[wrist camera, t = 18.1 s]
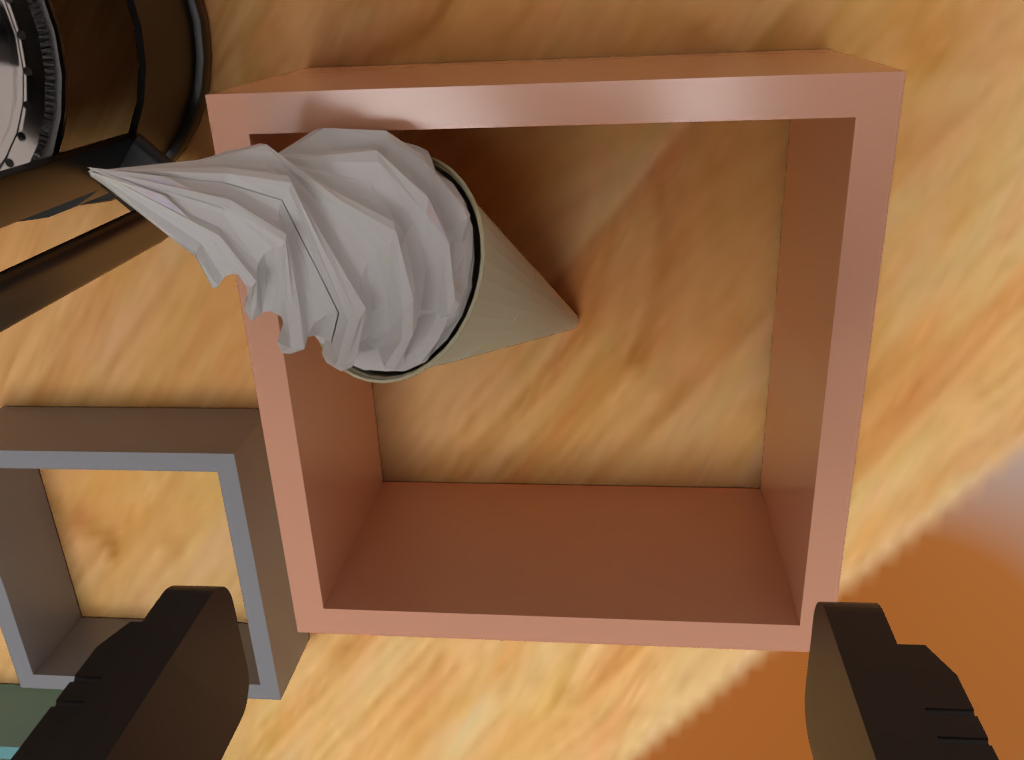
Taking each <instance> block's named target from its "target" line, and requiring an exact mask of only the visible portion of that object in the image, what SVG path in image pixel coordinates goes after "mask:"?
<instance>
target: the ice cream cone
mask: <svg viewBox="0 0 1024 760" xmlns="http://www.w3.org/2000/svg"><path fill="white" fill-rule="evenodd" d="M88 168H89V169H91V170H90V171H88V172H89V173H90V175H91V177H92V178H94V179H95V180H97V181H98V182H100V183H101V184H103V185H104V186H106V187H107V188H108V189H110V190H111V191H112V192H113V193H115V194H116V195H117V196H118V197H120V198H121V199H122V200H124V201H125V202H126V203H127V204H129V205H130V206H131V207H132V208H134V209H135V210H136V211H138V212H139V213H140V214H141V215H143V216H144V217H145V218H146V219H148V220H149V221H150V222H152V223H153V224H154V225H155V226H157V227H158V228H159V229H160V230H162V231H163V232H164V233H166V234H167V235H168V236H169V237H171V238H172V239H173V240H174V241H176V242H177V243H178V244H180V245H181V246H182V247H184V248H185V249H186V250H187V251H189V252H190V253H191V254H193V255H194V254H195V256H196V258H197V260H198V262H199V264H200V265H201V267H202V269H203V271H204V273H205V275H206V277H207V278H208V280H209V282H210V284H211V286H212V288H216V287H218V286H219V284H220V283H221V281H222V280H223V278H225V277H226V276H228V275H231V274H237V275H239V277H240V278H241V280H242V281H243V282H244V284H245V285H246V288H247V297H246V302H245V307H244V310H245V312H246V313H247V315H248V316H249V318H250V320H251V321H253V320H254V319H255V318H257V317H258V316H259V315H260V314H261V313H264V312H268V311H271V312H273V313H275V314H277V315H279V316H281V317H282V321H283V325H282V328H281V331H280V335H279V338H278V341H277V343H278V345H279V348H280V350H281V352H282V353H287V354H291V353H294V352H297V351H300V350H303V349H305V345H306V341H307V337H310V336H315V337H316V338H317V339H318V341H319V343H320V345H321V347H322V348H323V350H322V355H323V357H324V359H325V361H326V363H328V364H330V365H331V366H333V367H335V368H336V369H338V370H340V371H341V372H342V371H345V372H346V373H348V374H350V375H351V376H353V377H355V378H358V379H361V380H364V381H367V382H374V383H390V382H397V381H402V380H404V379H407V378H410V377H412V376H415V375H417V374H419V373H421V372H422V371H424V370H426V369H427V368H429V367H433V366H437V365H442V364H447V363H450V362H454V361H458V360H461V359H465V358H469V357H472V356H476V355H480V354H484V353H487V352H491V351H495V350H498V349H502V348H506V347H509V346H513V345H517V344H520V343H524V342H528V341H531V340H535V339H539V338H542V337H546V336H550V335H554V334H557V333H561V332H565V331H568V330H572V329H574V328H576V327H577V325H578V322H579V319H578V316H577V315H576V314H575V313H574V311H573V310H572V309H571V308H570V307H569V306H568V305H567V304H566V302H565V301H564V300H563V299H562V298H561V297H560V296H559V295H558V293H557V292H556V291H555V290H554V289H553V288H552V287H551V286H550V284H549V283H548V282H547V281H546V280H545V279H544V278H543V277H542V275H541V274H540V273H539V272H538V271H537V270H536V269H535V268H534V267H533V266H532V265H531V263H529V262H528V261H527V260H526V258H525V257H524V256H523V255H522V254H521V253H520V252H519V251H518V249H517V248H516V247H515V246H514V245H513V244H512V243H511V242H510V241H509V239H508V238H507V237H506V236H505V235H504V234H503V233H502V232H501V230H500V229H499V228H498V227H497V226H496V225H495V224H494V223H493V221H492V220H491V219H490V218H489V217H488V216H487V215H486V214H485V213H484V211H483V210H482V209H481V208H480V207H479V206H478V205H477V204H476V201H475V199H474V197H473V195H472V193H471V192H470V190H469V188H468V187H467V185H466V183H465V182H464V181H463V180H462V179H461V177H460V176H459V175H458V174H457V173H456V172H455V171H454V170H453V169H452V168H451V167H449V166H448V165H446V164H445V163H443V162H442V161H441V160H439V159H437V158H434V157H431V156H430V154H429V152H428V151H427V150H425V149H423V148H421V147H419V146H417V145H413V144H409V143H405V142H402V141H401V140H399V139H398V138H396V137H395V136H393V135H392V134H390V133H389V132H387V131H382V130H361V129H339V128H321V129H316V130H314V131H312V132H310V133H309V134H307V135H306V136H304V137H303V138H301V139H299V140H298V141H296V142H295V143H293V144H292V145H290V146H288V147H287V148H285V149H284V150H282V151H281V152H279V153H277V152H276V151H275V150H273V149H272V148H271V147H269V146H268V145H267V144H261V143H260V144H256V145H252V146H248V147H244V148H241V149H237V150H226V151H224V152H222V153H220V154H218V155H214V156H210V157H206V158H202V159H199V160H192V161H182V162H172V163H163V164H153V165H144V166H134V167H124V168H115V169H99V168H91V167H88Z"/></svg>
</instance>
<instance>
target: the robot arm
mask: <svg viewBox="0 0 1024 760" xmlns="http://www.w3.org/2000/svg"><path fill="white" fill-rule="evenodd" d="M74 677H75V678H74V681H73V682H69V684H68V685H67V686H66V688H65V689H64V690H63V691H62V693H61V694H60V695H59V697H58V698H57V699H56V705H55V707H53V706H51V707H50V708H49V710H48V711H47V712H46V714H45V715H44V716H43V718H42V719H41V720H40V722H39V723H38V724H37V725H36V727H35V728H34V729H33V731H32V732H31V733H30V735H29V736H28V737H27V739H26V740H25V741H24V742H23V744H22V745H21V746H20V748H19V749H18V750H17V752H16V753H15V754H14V756H13V757H12V758H11V759H10V760H221V759H222V757H223V755H224V753H225V751H226V749H227V747H228V745H229V743H230V741H231V739H232V737H233V735H234V733H235V731H236V729H237V727H238V725H239V723H240V721H241V718H242V716H243V714H244V711H245V707H246V704H247V699H248V692H249V672H248V666H247V662H246V658H245V653H244V649H243V644H242V640H241V635H240V631H239V626H238V622H237V617H236V613H235V608H234V604H233V600H232V596H231V594H230V592H229V591H228V589H227V588H225V587H217V586H171V587H169V588H167V589H166V590H165V591H164V592H163V594H162V595H161V596H160V598H159V599H158V601H157V602H156V603H155V605H154V606H153V607H152V609H151V610H150V612H149V613H148V614H147V616H146V617H145V619H144V620H143V621H142V622H131V621H130V622H129V623H128V624H126V625H125V626H124V627H122V628H121V629H120V630H118V631H117V632H116V633H114V634H113V635H112V636H110V637H109V638H108V639H106V640H105V641H104V642H102V643H101V644H100V645H98V646H97V647H96V648H95V650H94V651H93V652H92V653H91V655H90V656H89V657H88V659H87V660H86V661H85V663H84V664H83V665H82V667H81V668H80V669H79V671H78V672H77V673H76V674H75V676H74ZM805 716H806V726H807V733H808V739H809V743H810V747H811V751H812V755H813V759H814V760H999V759H998V757H997V755H996V753H995V751H994V749H993V747H992V746H989V744H988V737H987V735H986V733H985V731H984V729H983V727H982V725H981V723H980V721H979V719H978V717H977V716H974V709H973V707H972V705H971V703H970V701H969V699H968V697H967V695H966V693H965V691H964V689H963V687H962V685H961V683H960V681H959V678H958V676H957V675H956V674H955V673H954V672H953V671H952V670H951V669H950V668H949V667H947V665H946V664H945V663H943V662H942V661H941V660H940V659H939V658H938V657H937V656H936V655H935V654H934V653H933V652H932V651H931V650H930V649H929V648H927V647H926V646H925V645H905V644H903V645H902V644H897V642H896V640H895V638H894V635H893V633H892V631H891V628H890V626H889V624H888V621H887V619H886V617H885V614H884V612H883V610H882V608H881V607H880V605H879V604H877V603H857V602H818V603H817V604H816V606H815V610H814V616H813V625H812V634H811V643H810V652H809V661H808V670H807V679H806V689H805Z"/></svg>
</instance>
